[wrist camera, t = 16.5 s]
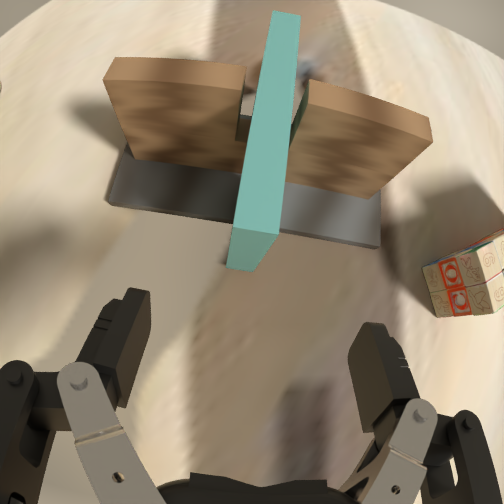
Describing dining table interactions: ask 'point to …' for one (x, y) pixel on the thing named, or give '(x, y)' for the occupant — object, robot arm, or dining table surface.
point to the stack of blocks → (469, 279)
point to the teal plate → (266, 148)
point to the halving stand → (235, 142)
